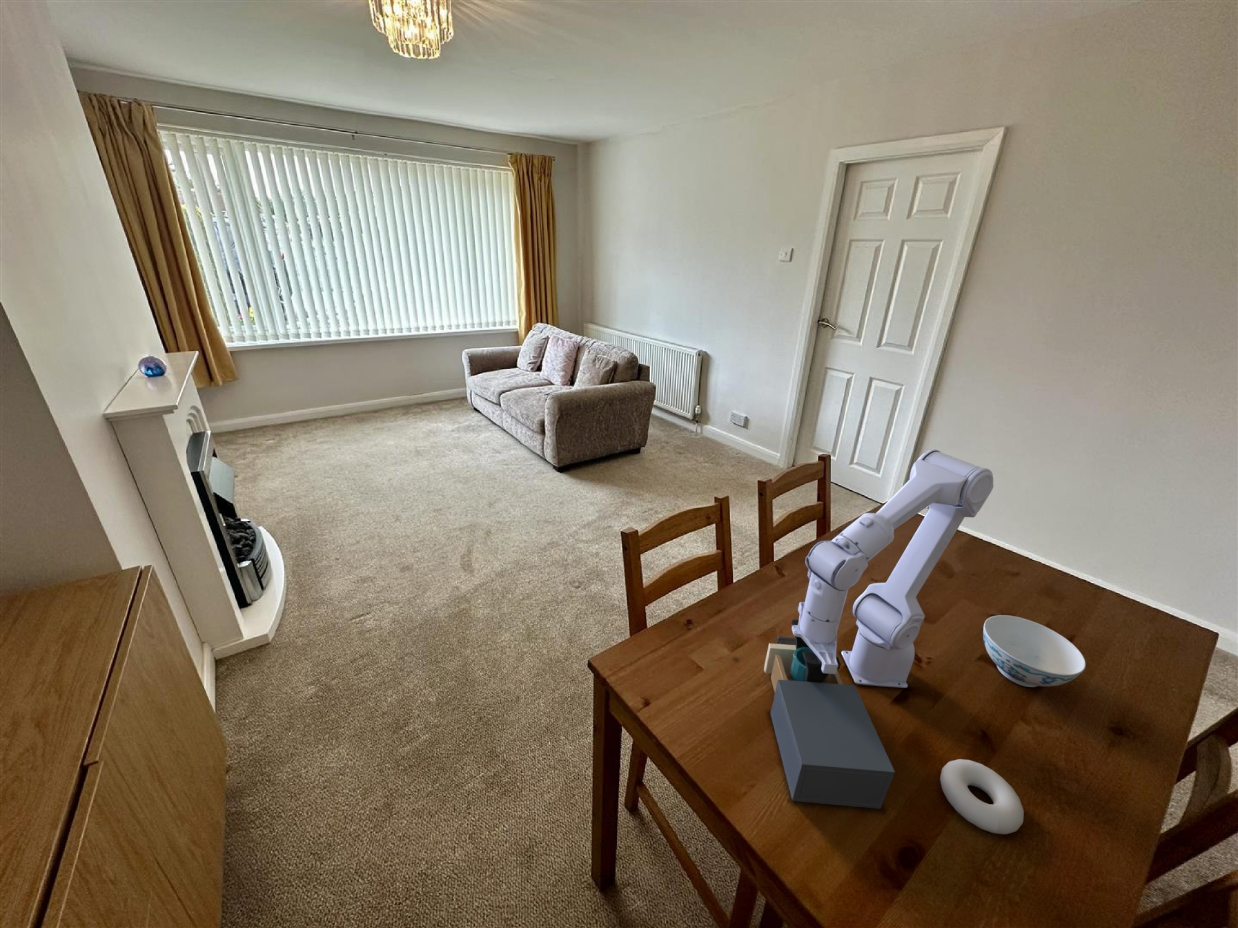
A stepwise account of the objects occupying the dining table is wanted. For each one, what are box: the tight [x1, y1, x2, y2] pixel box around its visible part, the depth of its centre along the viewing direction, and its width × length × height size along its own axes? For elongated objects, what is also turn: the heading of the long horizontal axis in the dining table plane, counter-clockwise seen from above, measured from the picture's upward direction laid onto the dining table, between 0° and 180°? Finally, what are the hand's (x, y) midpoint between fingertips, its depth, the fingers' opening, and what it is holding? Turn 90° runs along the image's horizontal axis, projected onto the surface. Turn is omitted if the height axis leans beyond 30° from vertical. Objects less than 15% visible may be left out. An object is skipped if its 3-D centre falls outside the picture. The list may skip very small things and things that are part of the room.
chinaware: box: [982, 614, 1087, 688], centre depth 92 cm, size 15×15×8 cm
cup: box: [789, 647, 814, 682], centre depth 84 cm, size 5×5×4 cm
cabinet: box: [770, 680, 896, 810], centre depth 75 cm, size 15×13×8 cm
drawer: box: [763, 635, 844, 693], centre depth 85 cm, size 18×11×6 cm, turn 176°
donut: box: [939, 758, 1025, 835], centre depth 70 cm, size 10×4×10 cm
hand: (807, 671), depth 84 cm, fingers closed on cup, 5 cm apart
